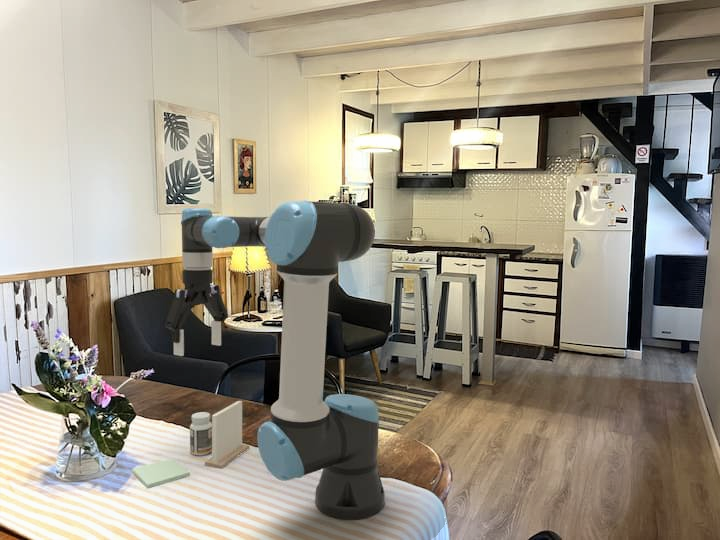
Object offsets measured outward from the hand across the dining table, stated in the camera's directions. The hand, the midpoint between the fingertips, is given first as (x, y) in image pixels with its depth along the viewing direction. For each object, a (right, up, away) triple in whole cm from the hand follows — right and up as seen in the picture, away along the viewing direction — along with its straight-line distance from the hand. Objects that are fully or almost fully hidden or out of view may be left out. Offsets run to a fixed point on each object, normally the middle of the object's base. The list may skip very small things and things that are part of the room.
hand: (198, 349), depth 145 cm
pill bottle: (+1, -27, +1) cm, 27 cm away
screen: (+8, -27, -2) cm, 28 cm away
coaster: (-5, -28, -12) cm, 31 cm away
